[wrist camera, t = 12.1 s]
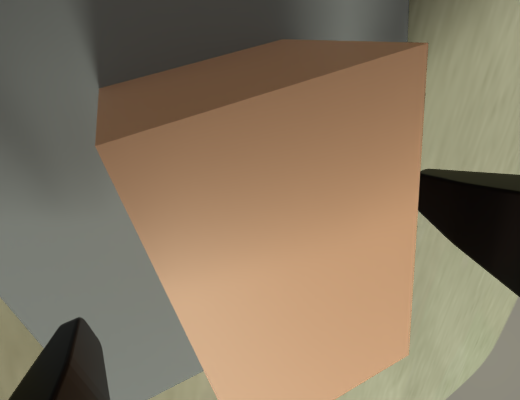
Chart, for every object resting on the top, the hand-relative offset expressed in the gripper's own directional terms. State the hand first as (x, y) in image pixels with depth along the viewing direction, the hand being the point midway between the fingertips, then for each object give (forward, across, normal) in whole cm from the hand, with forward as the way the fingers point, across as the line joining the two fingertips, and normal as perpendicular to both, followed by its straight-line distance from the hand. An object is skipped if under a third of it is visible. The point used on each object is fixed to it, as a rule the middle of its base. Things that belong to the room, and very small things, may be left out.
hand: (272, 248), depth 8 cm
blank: (+3, 0, 0) cm, 3 cm away
